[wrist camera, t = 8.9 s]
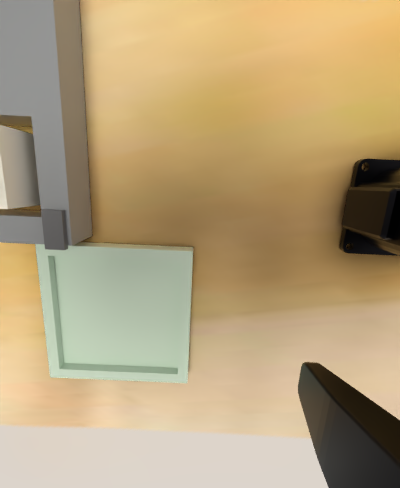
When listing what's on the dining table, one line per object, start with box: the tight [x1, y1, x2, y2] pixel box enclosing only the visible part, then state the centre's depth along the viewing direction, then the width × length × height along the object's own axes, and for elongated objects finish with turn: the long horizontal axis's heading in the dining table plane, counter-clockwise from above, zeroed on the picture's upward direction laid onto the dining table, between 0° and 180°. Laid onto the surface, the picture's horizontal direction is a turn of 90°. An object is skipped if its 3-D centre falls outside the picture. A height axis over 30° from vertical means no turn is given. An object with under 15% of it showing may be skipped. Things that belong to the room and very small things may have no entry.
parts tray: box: [35, 242, 193, 383], centre depth 19 cm, size 11×11×1 cm
